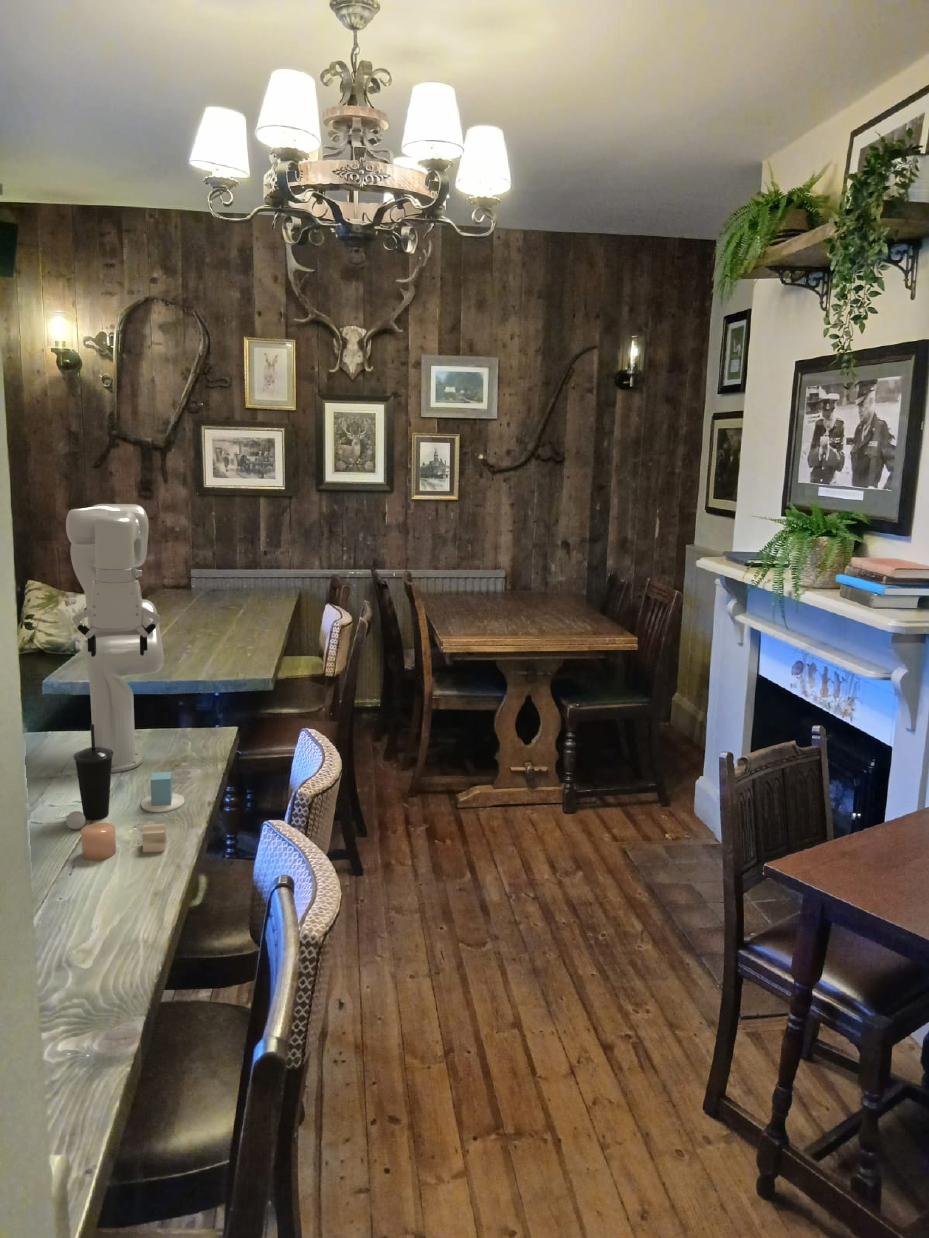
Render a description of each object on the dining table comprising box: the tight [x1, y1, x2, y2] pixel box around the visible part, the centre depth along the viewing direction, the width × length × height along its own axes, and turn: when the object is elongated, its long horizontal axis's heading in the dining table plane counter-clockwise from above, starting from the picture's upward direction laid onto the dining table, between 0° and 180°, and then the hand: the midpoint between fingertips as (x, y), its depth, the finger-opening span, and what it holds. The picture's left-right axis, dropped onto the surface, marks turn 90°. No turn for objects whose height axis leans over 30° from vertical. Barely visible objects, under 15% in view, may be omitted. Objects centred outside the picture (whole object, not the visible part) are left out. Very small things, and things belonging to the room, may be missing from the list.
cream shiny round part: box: [140, 792, 185, 813], centre depth 191 cm, size 9×9×1 cm
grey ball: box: [65, 810, 86, 830], centre depth 178 cm, size 4×4×4 cm
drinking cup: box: [72, 723, 114, 821], centre depth 182 cm, size 8×8×20 cm
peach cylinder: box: [80, 822, 117, 862], centre depth 168 cm, size 6×6×5 cm
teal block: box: [150, 771, 173, 806], centre depth 190 cm, size 4×4×6 cm
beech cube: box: [141, 823, 167, 853], centre depth 171 cm, size 4×4×4 cm
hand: (118, 654), depth 187 cm, fingers open, 9 cm apart
